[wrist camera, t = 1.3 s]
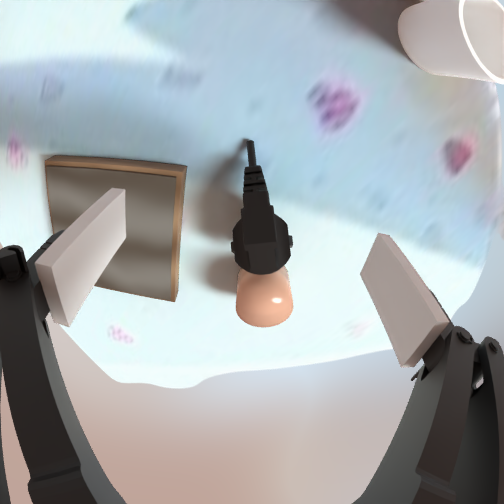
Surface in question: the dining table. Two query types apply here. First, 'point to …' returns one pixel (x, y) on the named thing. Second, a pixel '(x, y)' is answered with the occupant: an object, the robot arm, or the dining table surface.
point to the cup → (455, 38)
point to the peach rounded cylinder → (264, 298)
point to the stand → (136, 213)
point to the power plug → (259, 226)
